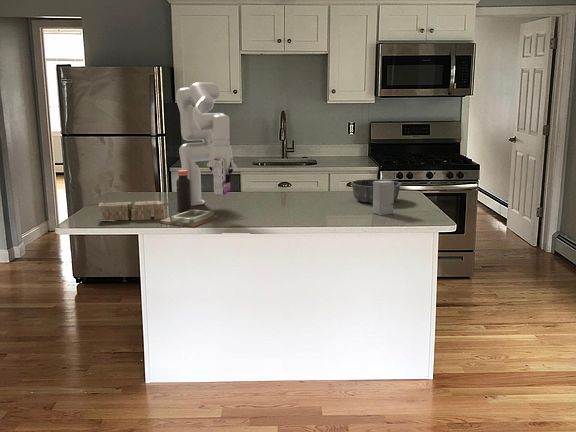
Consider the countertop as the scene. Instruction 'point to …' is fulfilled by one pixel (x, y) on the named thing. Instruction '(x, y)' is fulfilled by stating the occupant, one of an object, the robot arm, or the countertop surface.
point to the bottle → (183, 191)
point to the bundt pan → (369, 189)
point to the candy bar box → (220, 177)
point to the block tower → (132, 210)
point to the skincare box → (383, 197)
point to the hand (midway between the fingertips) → (221, 181)
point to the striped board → (190, 218)
